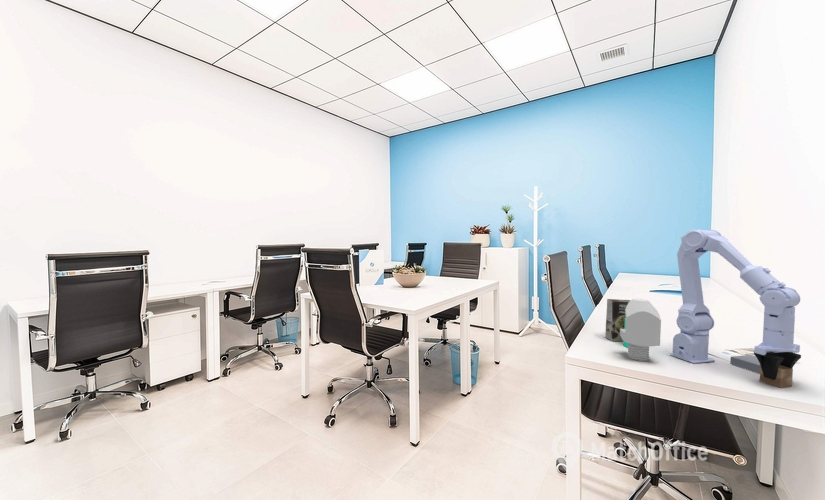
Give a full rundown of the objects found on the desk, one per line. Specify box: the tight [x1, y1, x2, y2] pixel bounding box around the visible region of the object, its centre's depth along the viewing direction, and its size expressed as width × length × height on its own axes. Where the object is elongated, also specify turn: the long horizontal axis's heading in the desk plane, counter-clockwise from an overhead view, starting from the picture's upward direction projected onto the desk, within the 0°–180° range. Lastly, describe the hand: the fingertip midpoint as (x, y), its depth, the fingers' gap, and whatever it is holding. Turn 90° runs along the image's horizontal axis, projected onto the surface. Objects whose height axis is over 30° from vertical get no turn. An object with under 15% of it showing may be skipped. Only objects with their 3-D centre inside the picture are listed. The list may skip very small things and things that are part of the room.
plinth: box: [729, 354, 760, 375], centre depth 101 cm, size 9×9×2 cm
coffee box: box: [604, 298, 632, 343], centre depth 129 cm, size 9×6×16 cm
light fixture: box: [620, 298, 662, 362], centre depth 109 cm, size 9×9×20 cm
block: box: [759, 365, 794, 389], centre depth 90 cm, size 4×4×5 cm
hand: (775, 377), depth 91 cm, fingers closed on block, 4 cm apart
